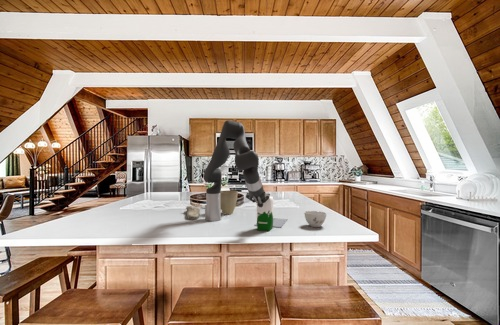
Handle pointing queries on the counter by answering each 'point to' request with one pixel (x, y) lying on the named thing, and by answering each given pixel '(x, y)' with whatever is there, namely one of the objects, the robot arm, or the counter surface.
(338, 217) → the counter surface
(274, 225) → the slate mat
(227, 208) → the plant pot
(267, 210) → the milk carton
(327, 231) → the counter surface
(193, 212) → the elongated rock
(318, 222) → the teacup
